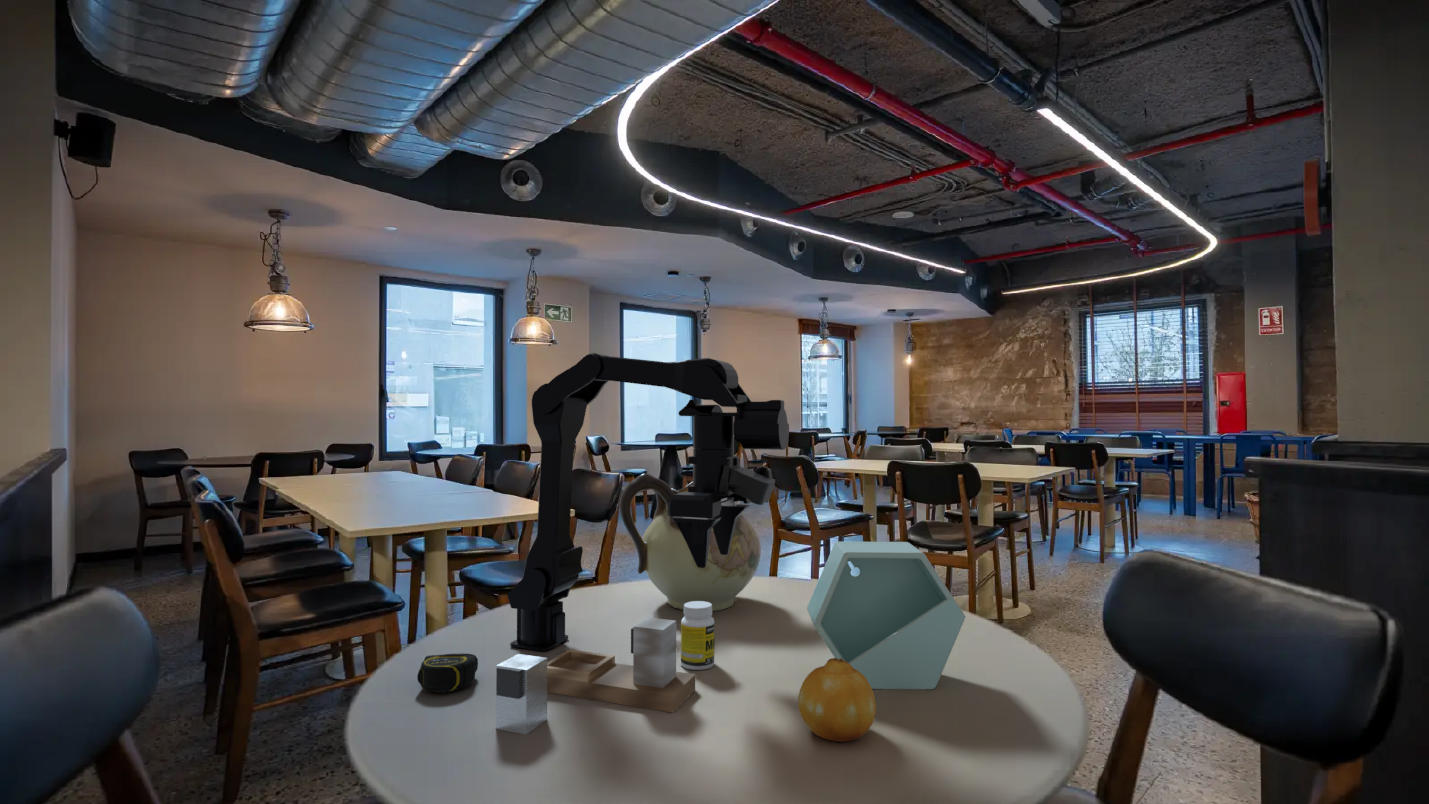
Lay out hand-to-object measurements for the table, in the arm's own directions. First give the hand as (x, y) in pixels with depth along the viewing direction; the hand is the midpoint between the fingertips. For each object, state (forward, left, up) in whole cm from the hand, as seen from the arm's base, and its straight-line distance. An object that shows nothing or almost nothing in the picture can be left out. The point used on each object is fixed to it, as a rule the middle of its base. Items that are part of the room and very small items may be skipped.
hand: (713, 560), depth 95 cm
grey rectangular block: (-14, -24, -15) cm, 32 cm away
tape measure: (-30, -18, -15) cm, 38 cm away
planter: (+23, +4, -15) cm, 27 cm away
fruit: (+20, -14, -15) cm, 28 cm away
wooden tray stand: (-9, -12, -15) cm, 21 cm away
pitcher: (-13, +29, -15) cm, 35 cm away
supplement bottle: (-2, 0, -15) cm, 15 cm away
